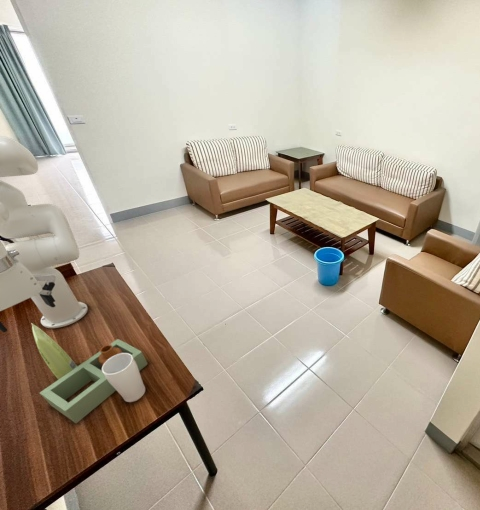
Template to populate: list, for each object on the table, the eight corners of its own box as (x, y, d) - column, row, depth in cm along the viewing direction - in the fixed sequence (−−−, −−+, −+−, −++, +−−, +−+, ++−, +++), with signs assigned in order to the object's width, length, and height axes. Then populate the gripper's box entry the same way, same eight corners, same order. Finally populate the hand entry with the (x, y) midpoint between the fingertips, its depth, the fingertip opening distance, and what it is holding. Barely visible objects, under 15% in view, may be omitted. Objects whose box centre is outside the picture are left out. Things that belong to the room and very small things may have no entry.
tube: (50, 380, 80) (13, 337, 69) (63, 365, 84) (31, 322, 73) (70, 380, 80) (37, 337, 70) (83, 365, 85) (53, 323, 74)
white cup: (128, 410, 75) (108, 379, 67) (116, 396, 78) (96, 365, 70) (153, 391, 80) (138, 360, 72) (141, 379, 83) (125, 348, 75)
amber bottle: (104, 374, 83) (89, 352, 77) (122, 360, 87) (109, 338, 81) (116, 381, 82) (102, 359, 76) (133, 367, 86) (122, 345, 80)
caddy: (51, 405, 74) (39, 392, 71) (124, 351, 90) (117, 338, 87) (76, 423, 71) (65, 411, 68) (147, 364, 87) (141, 351, 84)
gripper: (27, 242, 68) (59, 292, 78) (-83, 280, 55) (-29, 334, 64) (46, 251, 66) (76, 301, 76) (-64, 292, 53) (-11, 347, 62)
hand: (28, 316), depth 70 cm, fingers open, 9 cm apart
